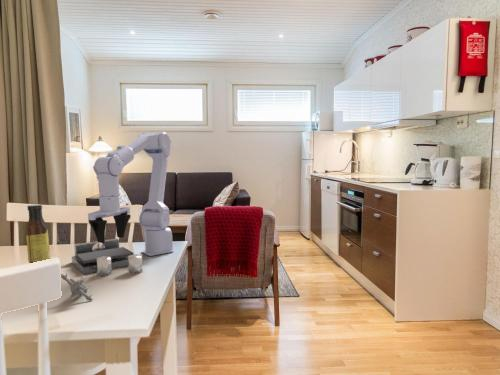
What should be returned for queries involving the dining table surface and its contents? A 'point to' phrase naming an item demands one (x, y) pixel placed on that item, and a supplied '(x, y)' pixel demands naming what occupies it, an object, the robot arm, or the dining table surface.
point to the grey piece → (77, 287)
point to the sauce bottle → (37, 235)
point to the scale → (97, 247)
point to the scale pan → (104, 254)
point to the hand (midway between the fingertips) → (111, 239)
